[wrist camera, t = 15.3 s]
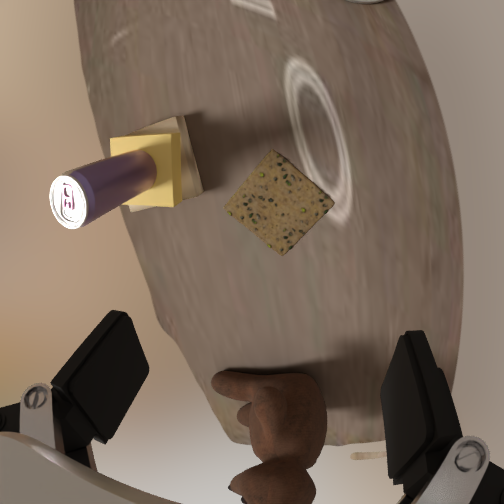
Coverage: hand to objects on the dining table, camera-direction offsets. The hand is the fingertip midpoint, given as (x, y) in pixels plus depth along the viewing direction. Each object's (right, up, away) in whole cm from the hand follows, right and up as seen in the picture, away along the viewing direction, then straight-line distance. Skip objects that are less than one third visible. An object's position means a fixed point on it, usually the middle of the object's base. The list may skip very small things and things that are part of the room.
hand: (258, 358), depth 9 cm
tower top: (-15, +16, +31) cm, 38 cm away
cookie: (+4, +11, +34) cm, 35 cm away
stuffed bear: (+5, -26, +51) cm, 58 cm away
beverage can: (-16, +15, +28) cm, 35 cm away
